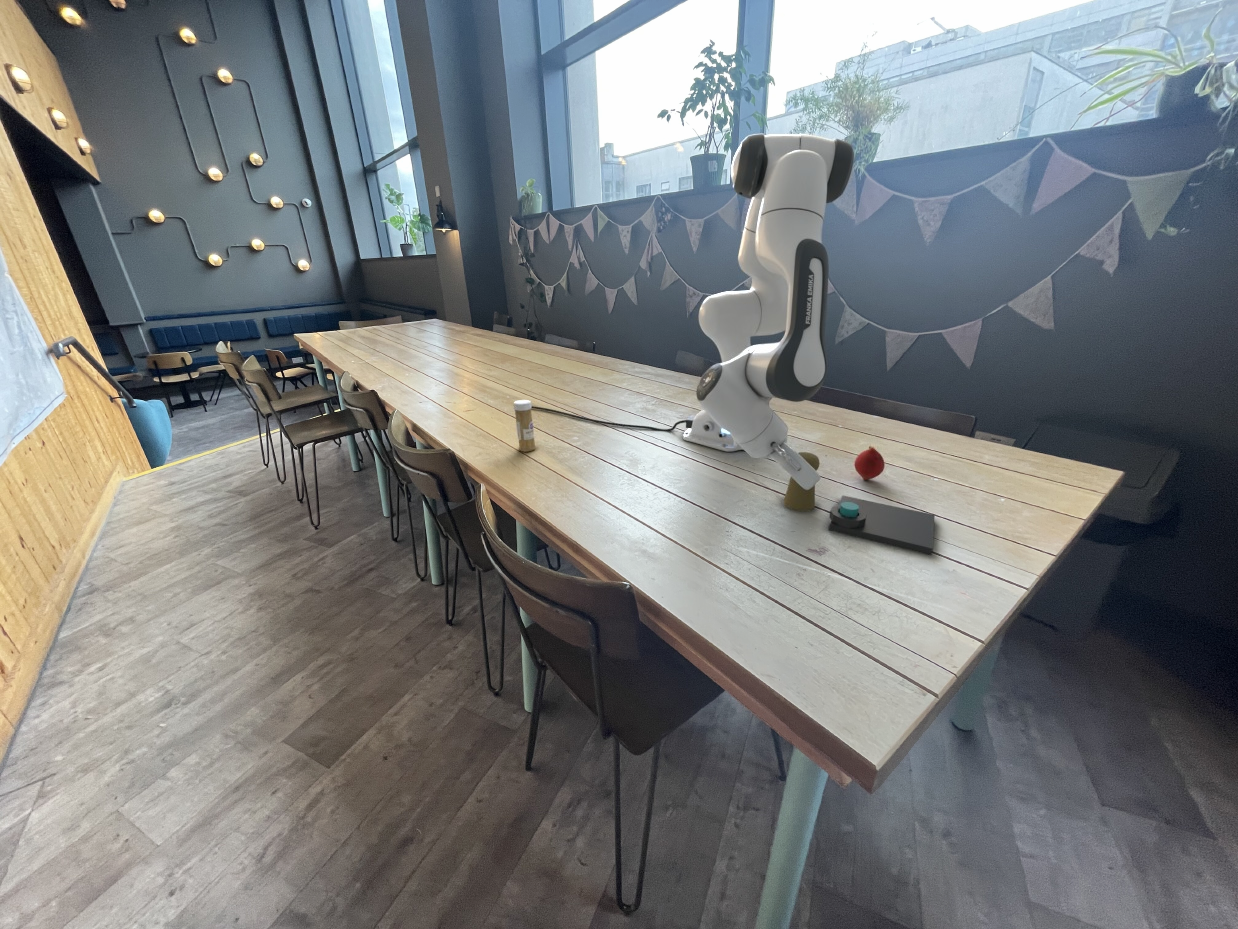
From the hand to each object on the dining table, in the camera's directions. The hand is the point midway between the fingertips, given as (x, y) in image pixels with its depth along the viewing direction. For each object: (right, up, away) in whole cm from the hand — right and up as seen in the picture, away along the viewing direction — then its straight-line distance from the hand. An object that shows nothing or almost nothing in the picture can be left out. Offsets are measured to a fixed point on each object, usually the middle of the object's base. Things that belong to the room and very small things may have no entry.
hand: (805, 477), depth 93 cm
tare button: (+5, -6, -7) cm, 11 cm away
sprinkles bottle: (-62, +7, +35) cm, 72 cm away
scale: (+12, -9, -6) cm, 16 cm away
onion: (+18, -1, +12) cm, 22 cm away
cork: (0, -6, +2) cm, 6 cm away
